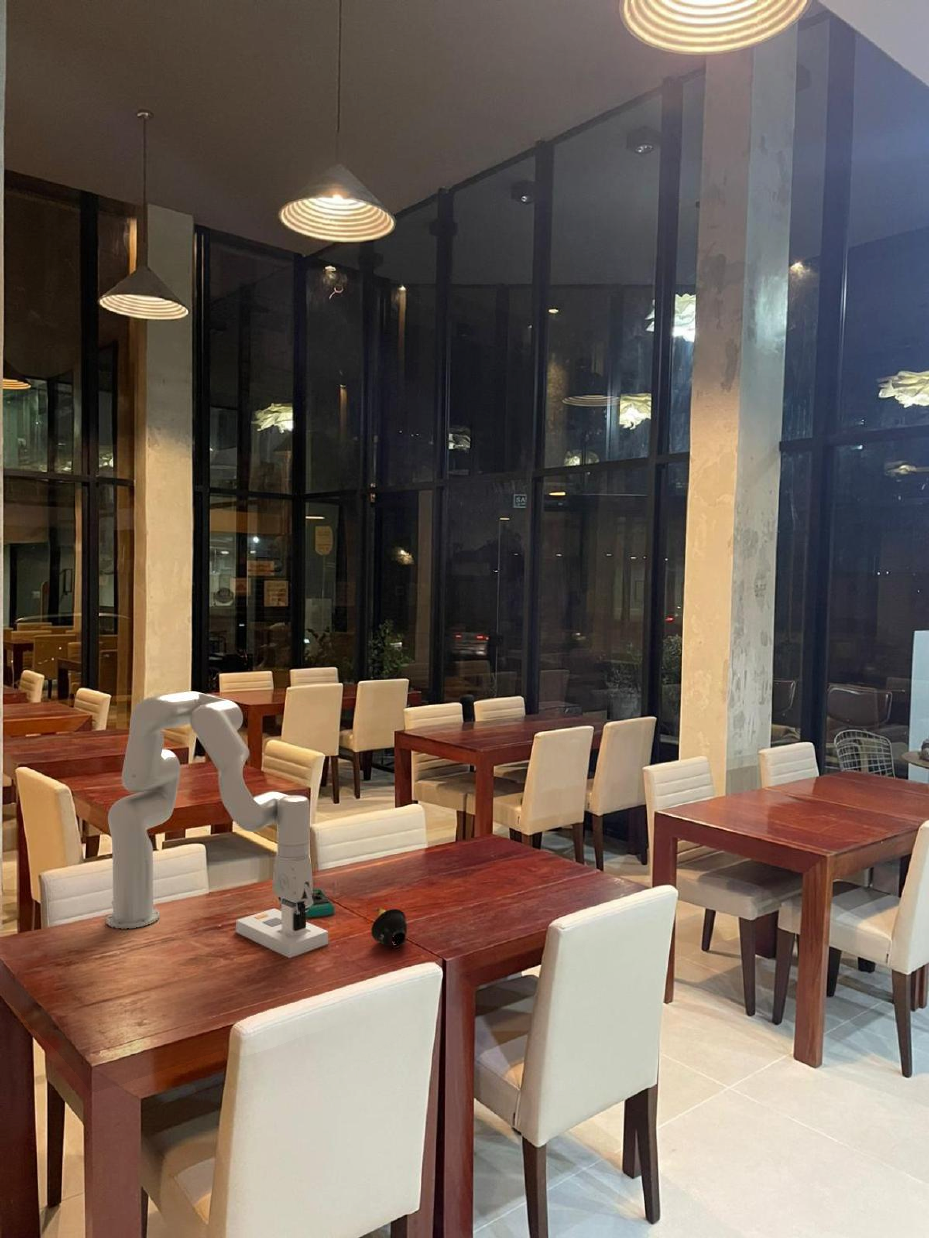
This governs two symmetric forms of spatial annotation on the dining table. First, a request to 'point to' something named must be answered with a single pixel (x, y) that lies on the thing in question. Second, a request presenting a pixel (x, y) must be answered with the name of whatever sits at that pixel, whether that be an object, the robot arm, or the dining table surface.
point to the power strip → (280, 934)
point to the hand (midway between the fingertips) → (293, 925)
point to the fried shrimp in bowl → (390, 927)
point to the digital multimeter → (320, 905)
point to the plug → (289, 919)
